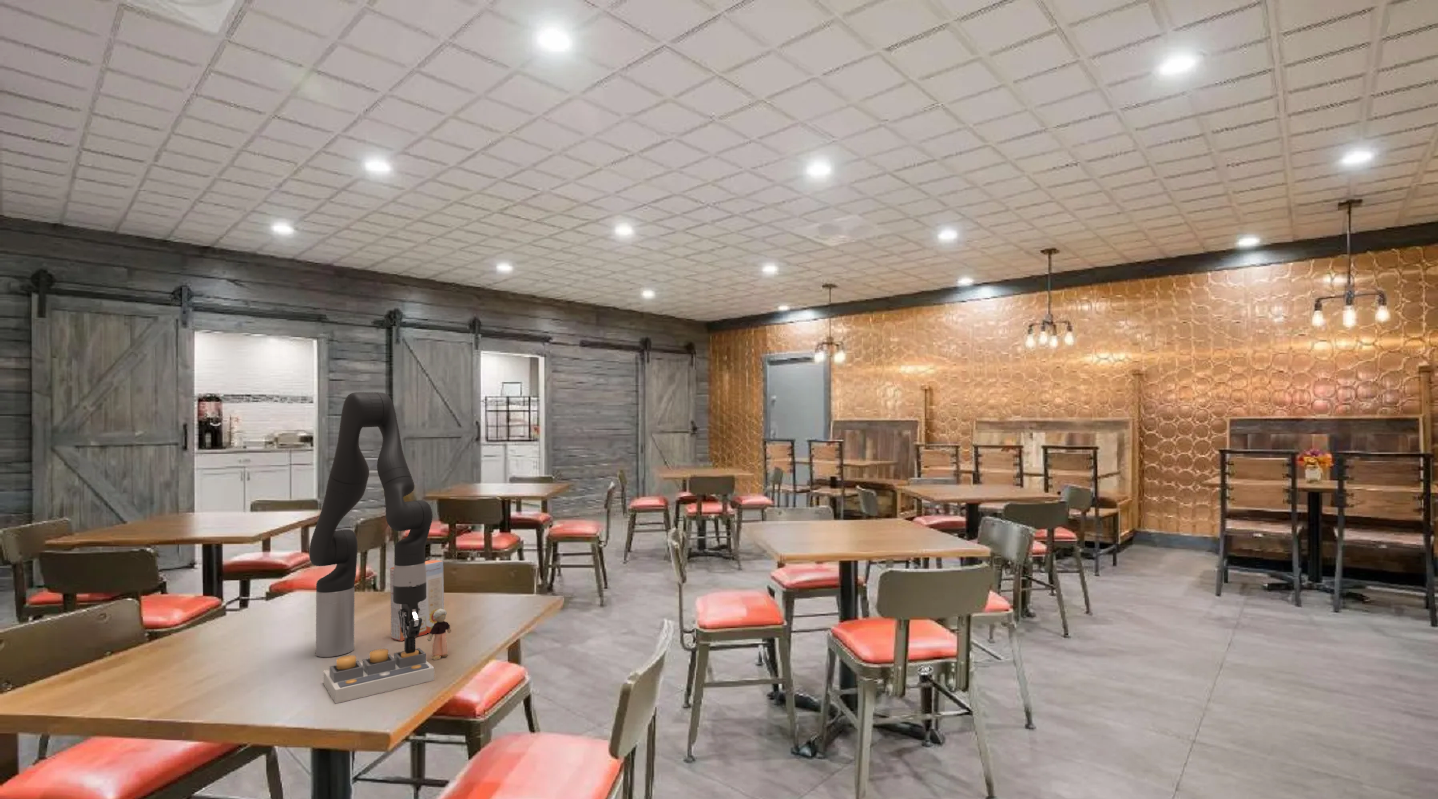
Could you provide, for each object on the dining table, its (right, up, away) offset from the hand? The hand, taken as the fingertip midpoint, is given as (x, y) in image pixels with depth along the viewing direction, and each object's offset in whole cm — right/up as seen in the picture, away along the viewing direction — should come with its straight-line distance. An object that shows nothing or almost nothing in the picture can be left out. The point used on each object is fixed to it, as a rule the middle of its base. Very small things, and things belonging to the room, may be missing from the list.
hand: (409, 652), depth 167 cm
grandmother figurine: (+2, -6, +13) cm, 15 cm away
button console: (-5, -5, -5) cm, 9 cm away
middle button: (-5, 0, -4) cm, 7 cm away
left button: (-11, 0, -9) cm, 14 cm away
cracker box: (-13, -8, +34) cm, 37 cm away
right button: (0, -2, 0) cm, 2 cm away
